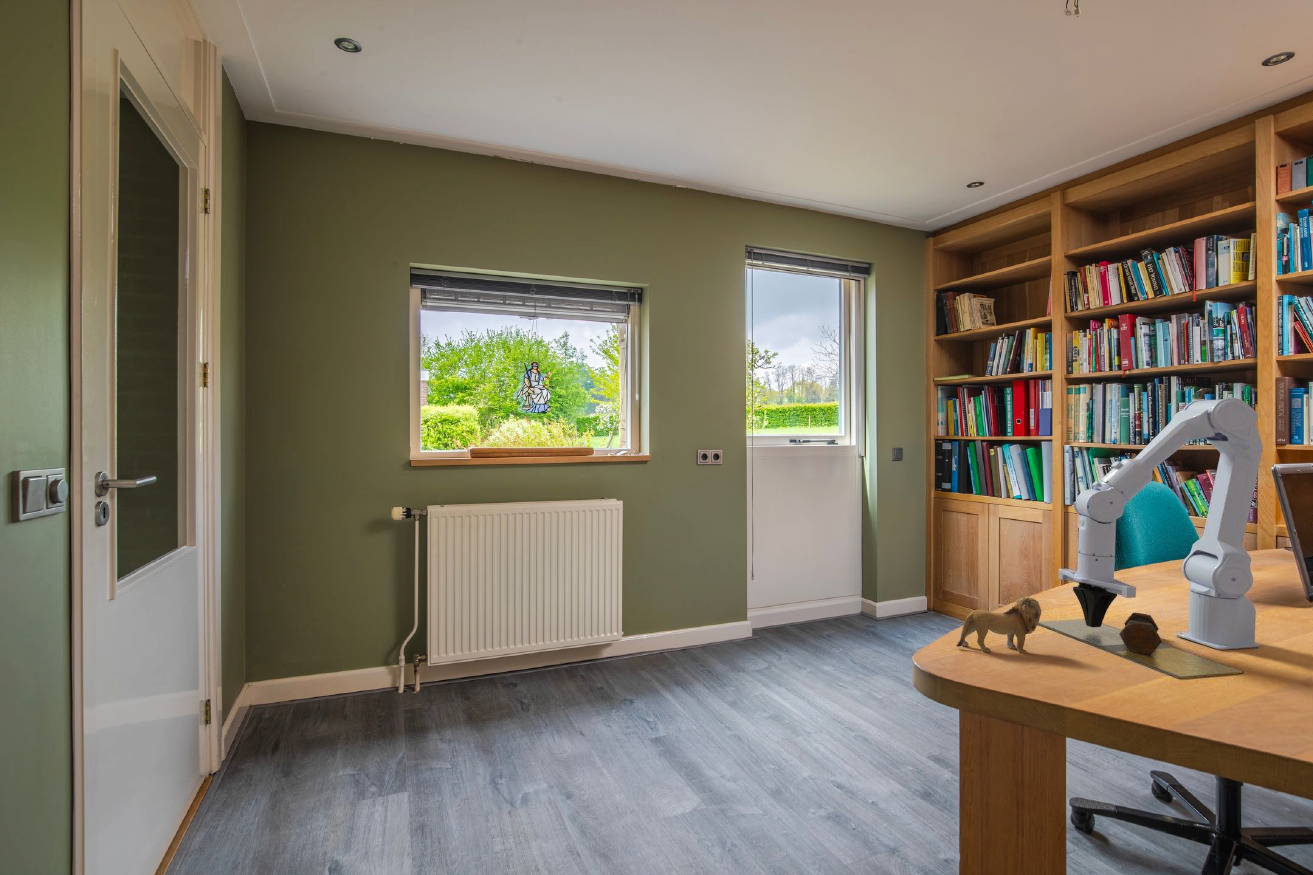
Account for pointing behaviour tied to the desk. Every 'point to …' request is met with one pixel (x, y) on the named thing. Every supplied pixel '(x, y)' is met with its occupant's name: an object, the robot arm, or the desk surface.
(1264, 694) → the desk surface
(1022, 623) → the lion figurine
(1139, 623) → the bolt
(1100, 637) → the flat rectangular plate
